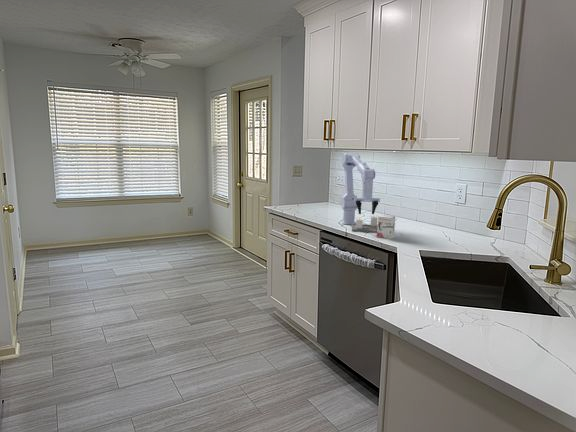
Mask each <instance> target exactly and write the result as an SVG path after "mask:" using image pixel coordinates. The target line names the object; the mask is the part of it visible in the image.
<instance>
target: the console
mask: <svg viewBox="0 0 576 432" xmlns="http://www.w3.org/2000/svg"><path fill="white" fill-rule="evenodd" d="M351 232H354V233H355V232H358V233H371V234H373V233H374V234H375V233H376V234H377V227H376V226H371V225H370V224H365V223H364V224H363V223H362V229H359V228H356V223H355V224H352V225H351Z"/></svg>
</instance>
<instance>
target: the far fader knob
mask: <svg viewBox="0 0 576 432" xmlns="http://www.w3.org/2000/svg"><path fill="white" fill-rule="evenodd" d="M369 225H371V226H376V227H377V225H378V216H370V224H369Z"/></svg>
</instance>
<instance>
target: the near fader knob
mask: <svg viewBox="0 0 576 432" xmlns="http://www.w3.org/2000/svg"><path fill="white" fill-rule="evenodd" d="M355 224H356V228H359V229H362V224H363V218H359V217H357V218H356V219H355Z"/></svg>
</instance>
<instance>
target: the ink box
mask: <svg viewBox="0 0 576 432" xmlns="http://www.w3.org/2000/svg"><path fill="white" fill-rule="evenodd" d="M395 226H396V216H394V215H387V214H379V215H378V216H377V233H376V238H381V237H383V239H388V238H390V240H392V239H394V237H395Z"/></svg>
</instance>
